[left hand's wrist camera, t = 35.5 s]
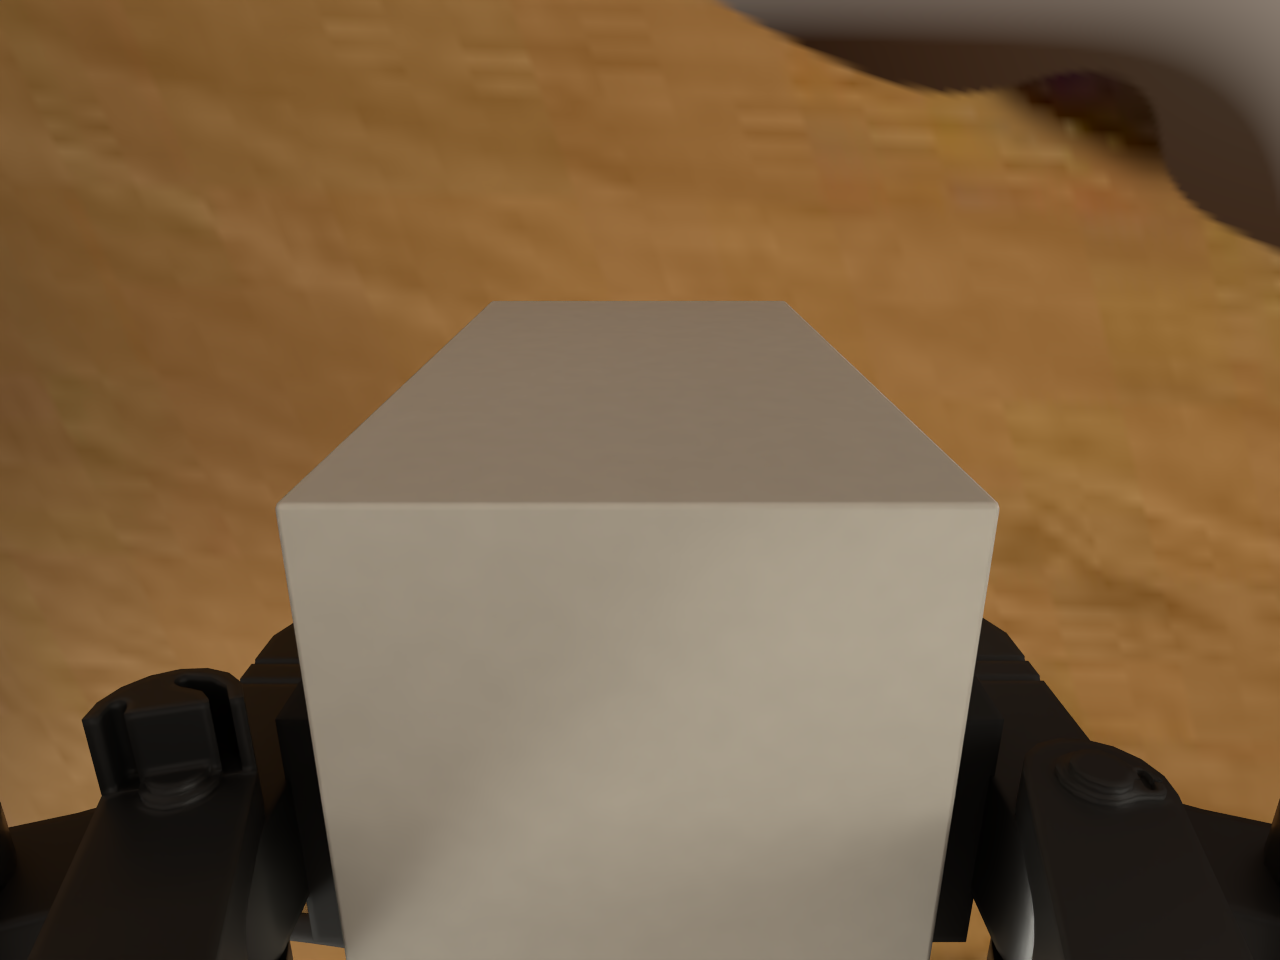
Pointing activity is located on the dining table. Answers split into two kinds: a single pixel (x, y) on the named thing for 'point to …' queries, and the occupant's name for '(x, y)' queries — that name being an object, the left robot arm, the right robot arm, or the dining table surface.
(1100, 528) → the dining table surface
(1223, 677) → the dining table surface
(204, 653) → the dining table surface
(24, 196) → the dining table surface
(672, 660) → the brick
